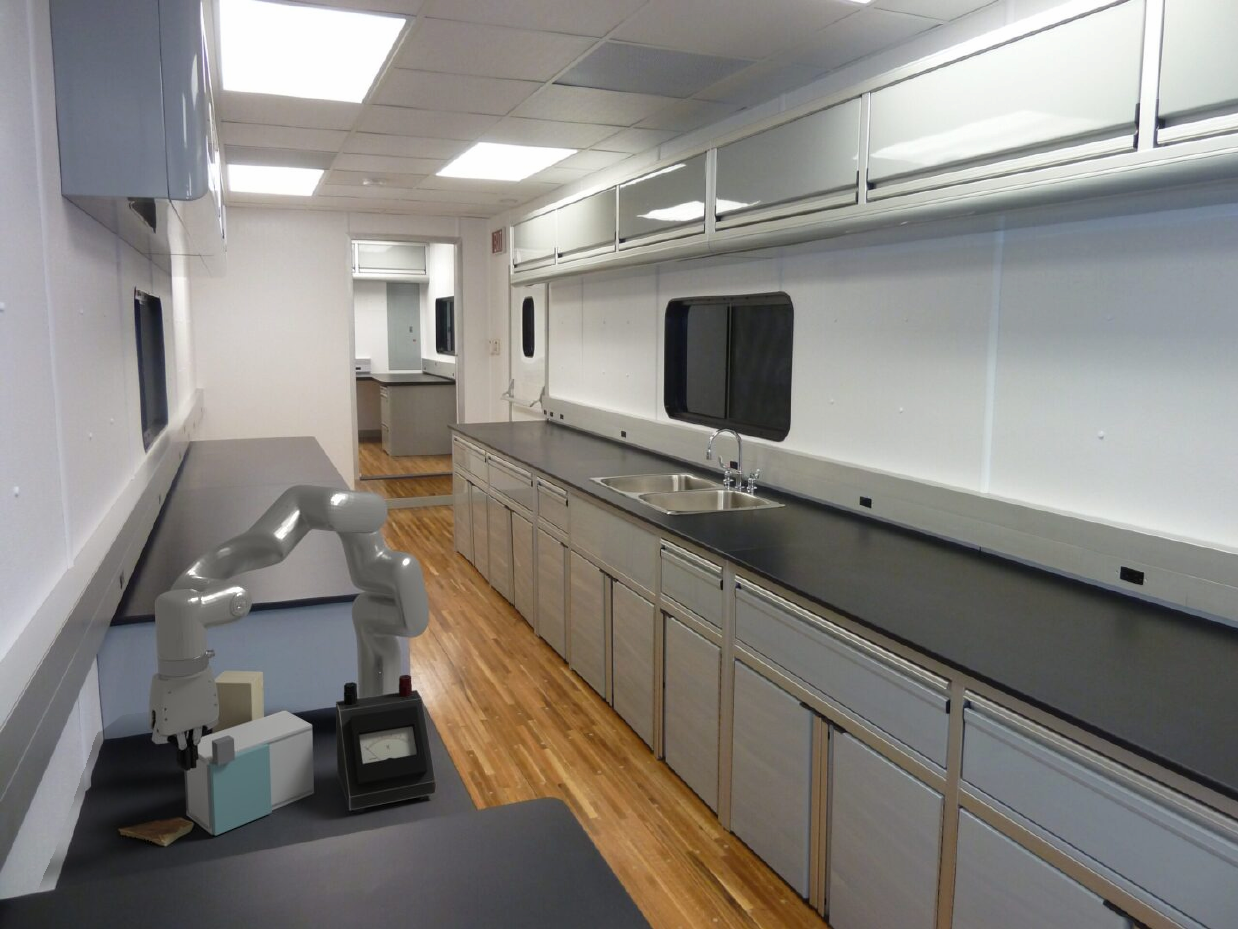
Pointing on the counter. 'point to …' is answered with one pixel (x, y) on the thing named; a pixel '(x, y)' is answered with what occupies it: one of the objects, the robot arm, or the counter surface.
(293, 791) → the storage cabinet
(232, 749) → the sliding door
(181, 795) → the counter surface
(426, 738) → the voltmeter
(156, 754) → the counter surface
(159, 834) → the shard
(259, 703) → the beige tall block
